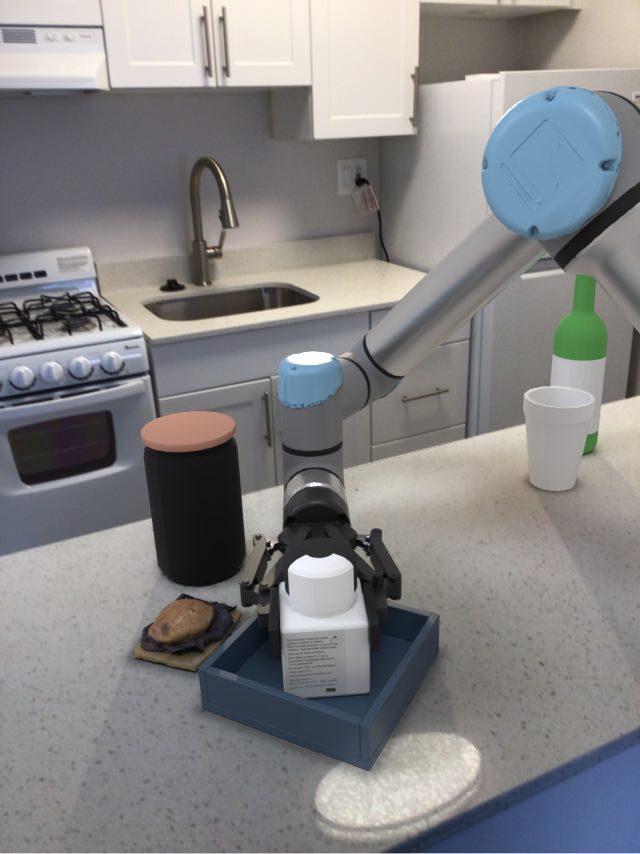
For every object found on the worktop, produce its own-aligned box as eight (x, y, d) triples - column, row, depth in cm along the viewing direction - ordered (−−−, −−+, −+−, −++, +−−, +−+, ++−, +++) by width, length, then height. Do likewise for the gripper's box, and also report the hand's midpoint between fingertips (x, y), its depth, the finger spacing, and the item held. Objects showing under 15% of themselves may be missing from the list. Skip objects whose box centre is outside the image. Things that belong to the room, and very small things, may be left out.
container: (282, 647, 75) (275, 531, 70) (360, 642, 75) (358, 526, 70) (284, 702, 67) (276, 576, 63) (370, 695, 68) (368, 570, 63)
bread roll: (199, 677, 73) (195, 645, 71) (125, 658, 76) (121, 627, 74) (249, 614, 82) (246, 585, 81) (181, 599, 85) (178, 571, 84)
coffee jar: (264, 556, 93) (255, 420, 86) (206, 599, 85) (190, 452, 78) (200, 535, 99) (186, 405, 92) (139, 573, 90) (119, 433, 84)
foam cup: (590, 473, 112) (598, 390, 107) (582, 500, 104) (591, 411, 99) (524, 464, 115) (530, 383, 111) (512, 489, 108) (517, 403, 103)
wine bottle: (578, 461, 116) (597, 263, 105) (535, 447, 122) (549, 258, 111) (606, 447, 121) (626, 256, 110) (563, 434, 126) (579, 252, 115)
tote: (439, 652, 75) (439, 614, 73) (369, 771, 61) (368, 727, 59) (293, 611, 82) (291, 575, 80) (202, 709, 68) (197, 668, 67)
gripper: (407, 540, 87) (445, 670, 66) (226, 549, 87) (206, 683, 65) (407, 481, 84) (447, 597, 63) (221, 489, 84) (197, 610, 63)
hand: (324, 640), depth 64 cm, fingers closed on container, 8 cm apart
